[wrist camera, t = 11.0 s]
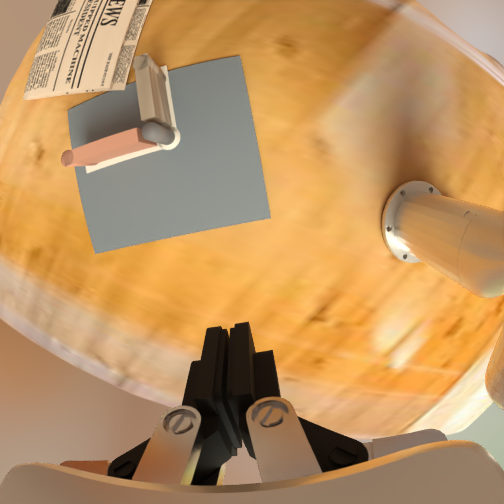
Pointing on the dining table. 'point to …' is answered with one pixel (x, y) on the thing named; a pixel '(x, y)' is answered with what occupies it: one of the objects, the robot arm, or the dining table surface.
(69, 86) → the newspaper
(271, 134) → the dining table surface
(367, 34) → the dining table surface
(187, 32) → the dining table surface
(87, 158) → the fence panel
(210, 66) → the card
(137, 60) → the fence fixed
